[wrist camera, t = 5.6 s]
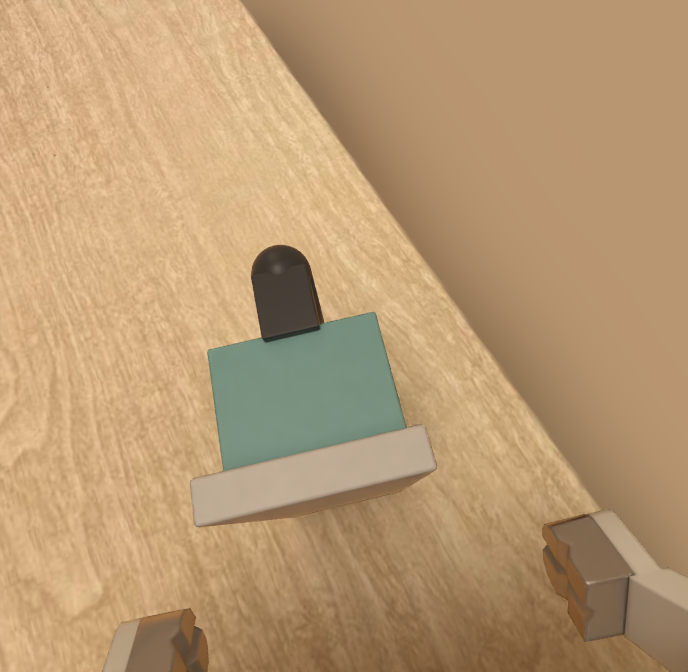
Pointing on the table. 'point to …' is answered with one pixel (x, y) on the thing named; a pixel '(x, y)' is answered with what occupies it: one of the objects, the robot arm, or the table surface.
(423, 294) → the table surface
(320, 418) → the iron
